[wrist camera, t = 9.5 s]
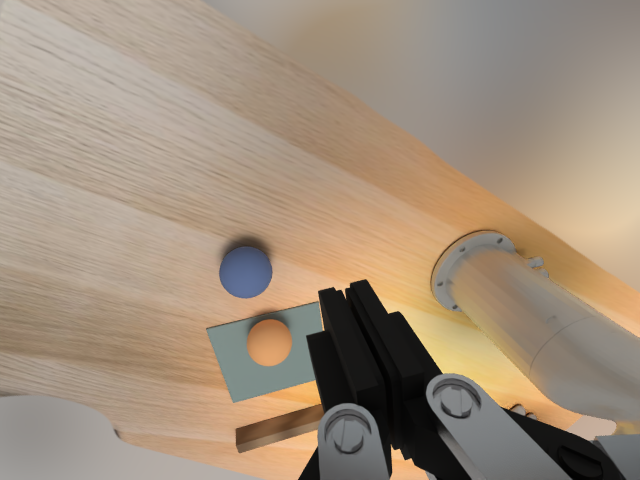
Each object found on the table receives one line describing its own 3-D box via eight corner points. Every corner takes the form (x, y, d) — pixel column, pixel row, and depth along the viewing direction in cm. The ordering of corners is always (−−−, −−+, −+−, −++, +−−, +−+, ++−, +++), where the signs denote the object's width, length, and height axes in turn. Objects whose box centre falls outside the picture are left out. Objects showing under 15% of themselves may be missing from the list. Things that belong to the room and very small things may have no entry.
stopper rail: (338, 399, 52) (342, 413, 49) (339, 407, 52) (343, 421, 50) (235, 429, 49) (236, 445, 47) (238, 436, 50) (239, 453, 48)
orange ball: (294, 346, 36) (298, 366, 40) (284, 305, 40) (289, 327, 44) (245, 360, 35) (254, 379, 39) (239, 317, 39) (248, 338, 43)
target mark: (318, 301, 42) (318, 302, 42) (328, 375, 48) (328, 376, 48) (206, 328, 40) (206, 329, 39) (233, 401, 46) (233, 403, 46)
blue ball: (276, 302, 33) (273, 283, 38) (270, 251, 31) (268, 238, 37) (220, 310, 32) (225, 289, 37) (212, 257, 31) (218, 243, 36)
